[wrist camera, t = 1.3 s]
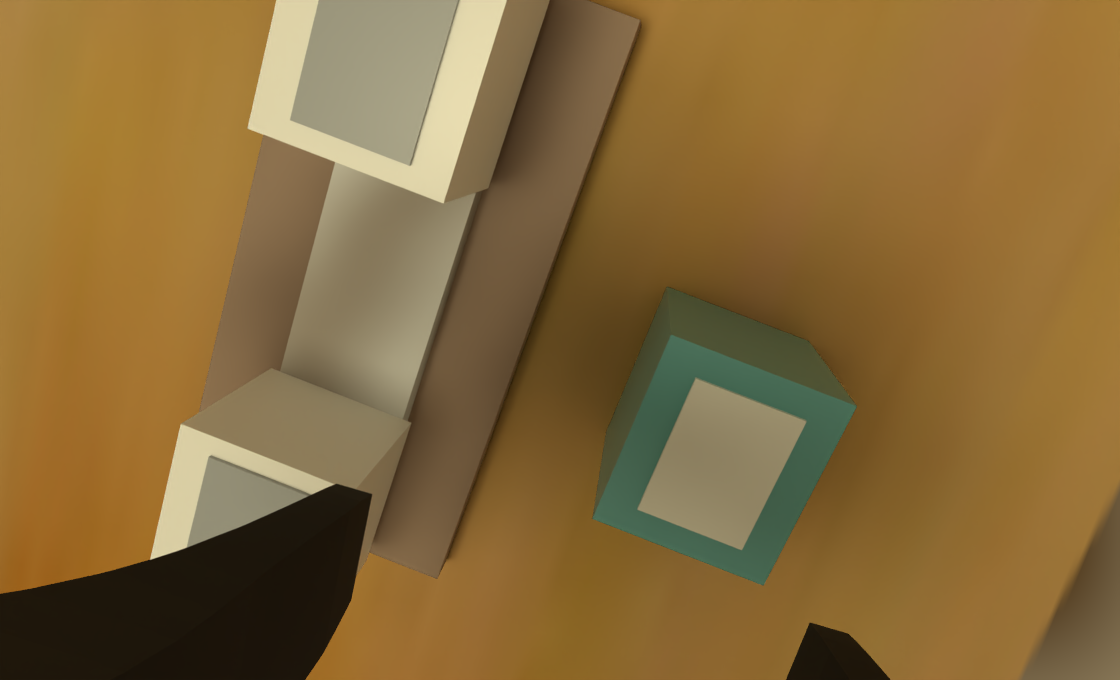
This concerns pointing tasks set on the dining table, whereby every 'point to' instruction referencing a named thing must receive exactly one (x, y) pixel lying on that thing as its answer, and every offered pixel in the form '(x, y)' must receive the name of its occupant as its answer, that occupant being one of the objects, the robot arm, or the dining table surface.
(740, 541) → the block
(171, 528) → the mounted module
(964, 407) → the dining table surface
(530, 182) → the mounting board
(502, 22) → the block
